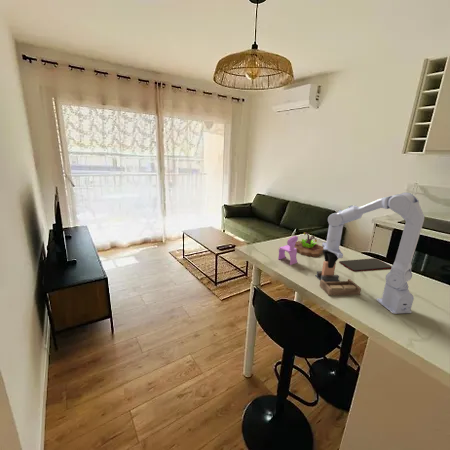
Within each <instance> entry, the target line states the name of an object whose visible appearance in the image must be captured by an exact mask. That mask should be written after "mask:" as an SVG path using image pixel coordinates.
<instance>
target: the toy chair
mask: <svg viewBox="0 0 450 450" xmlns="http://www.w3.org/2000/svg"><path fill="white" fill-rule="evenodd" d="M298 241H299V236H297V235H293V236H292V237H289V238H288V239H287V242H286V243H287V244H286V245H283V246H280V247H279V248H278V257H277V259H278V261H279V259H280V260H282V259H285V258H287V257H286V253H287V254H289V258H290V259H289V260H290V261H289V265H290V266H292V265H295V264H297V263H298V260H297V254H298V253H297V249H296V248H295V244H296V242H298Z"/></svg>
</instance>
